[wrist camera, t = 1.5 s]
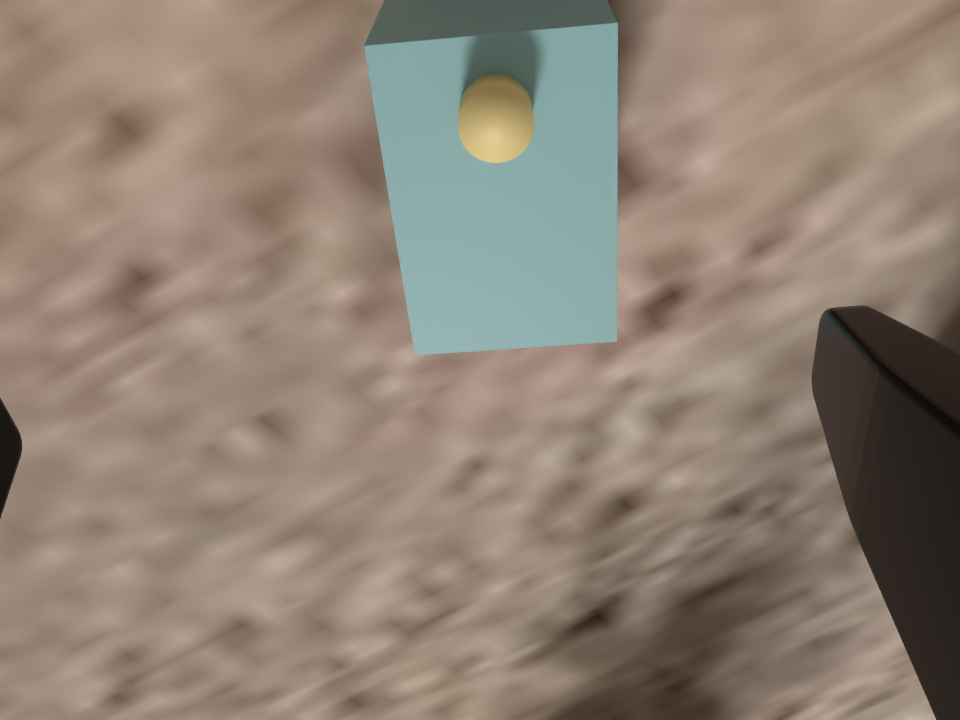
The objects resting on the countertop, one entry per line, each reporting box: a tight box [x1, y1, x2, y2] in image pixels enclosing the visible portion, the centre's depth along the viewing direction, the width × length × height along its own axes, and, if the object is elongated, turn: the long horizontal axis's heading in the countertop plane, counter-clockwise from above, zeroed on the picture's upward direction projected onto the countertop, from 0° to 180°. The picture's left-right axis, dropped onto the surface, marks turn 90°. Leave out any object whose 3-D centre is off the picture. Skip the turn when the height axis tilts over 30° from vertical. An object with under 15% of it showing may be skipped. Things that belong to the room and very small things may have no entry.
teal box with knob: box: [364, 0, 618, 355], centre depth 17 cm, size 6×4×7 cm, turn 5°
